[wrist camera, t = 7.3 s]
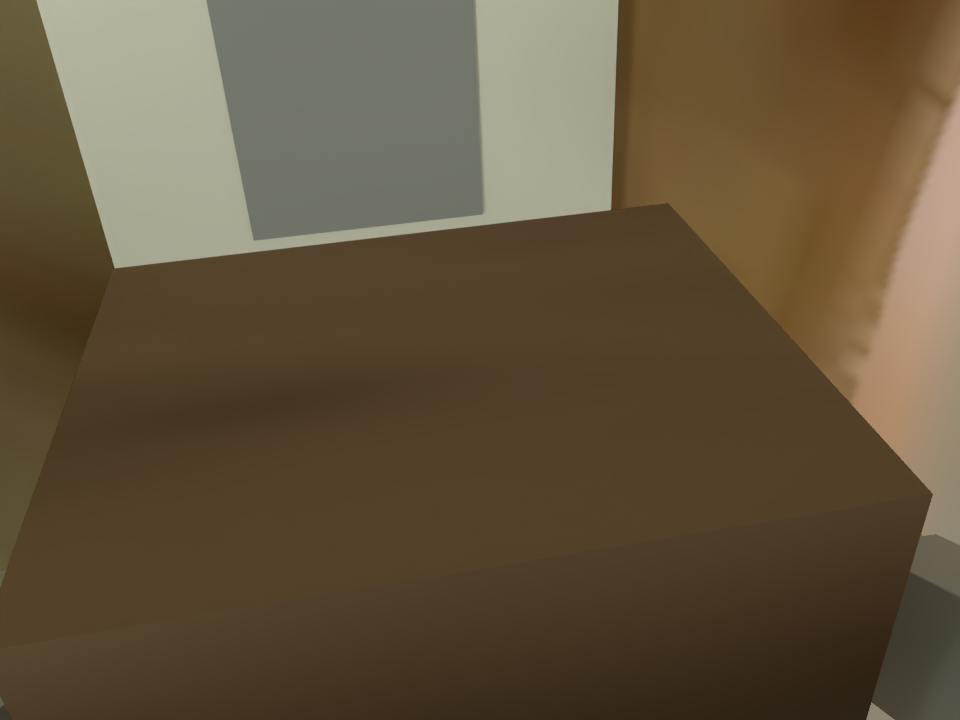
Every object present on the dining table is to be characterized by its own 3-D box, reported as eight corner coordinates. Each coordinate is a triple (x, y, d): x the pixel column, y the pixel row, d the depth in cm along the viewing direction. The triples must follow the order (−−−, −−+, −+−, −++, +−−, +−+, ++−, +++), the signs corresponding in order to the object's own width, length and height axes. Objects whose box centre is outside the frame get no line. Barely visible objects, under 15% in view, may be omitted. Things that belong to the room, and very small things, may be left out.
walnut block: (641, 582, 13) (800, 941, 9) (226, 653, 13) (198, 1078, 9) (668, 204, 10) (932, 493, 6) (113, 269, 9) (-22, 652, 5)
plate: (599, 300, 29) (607, 314, 28) (148, 358, 27) (144, 374, 27) (615, -220, 21) (627, -220, 21) (-8, -186, 20) (-19, -185, 19)
